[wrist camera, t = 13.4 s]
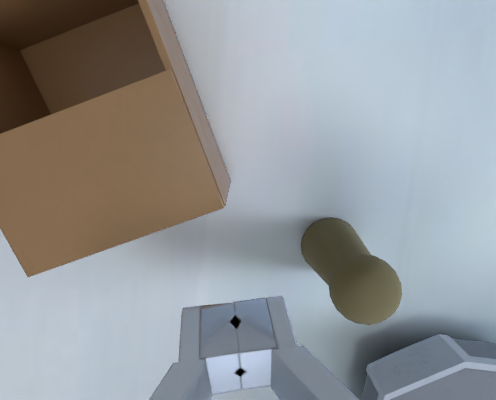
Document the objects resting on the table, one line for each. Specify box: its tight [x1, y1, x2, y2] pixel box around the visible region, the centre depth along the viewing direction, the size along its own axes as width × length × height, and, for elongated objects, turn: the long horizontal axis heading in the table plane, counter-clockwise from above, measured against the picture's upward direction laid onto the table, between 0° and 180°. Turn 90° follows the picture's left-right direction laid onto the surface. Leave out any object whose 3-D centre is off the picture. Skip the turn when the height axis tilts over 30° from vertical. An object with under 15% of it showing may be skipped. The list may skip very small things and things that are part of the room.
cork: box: [301, 218, 402, 325], centre depth 27 cm, size 6×6×11 cm
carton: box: [0, 0, 231, 277], centre depth 23 cm, size 18×14×11 cm
